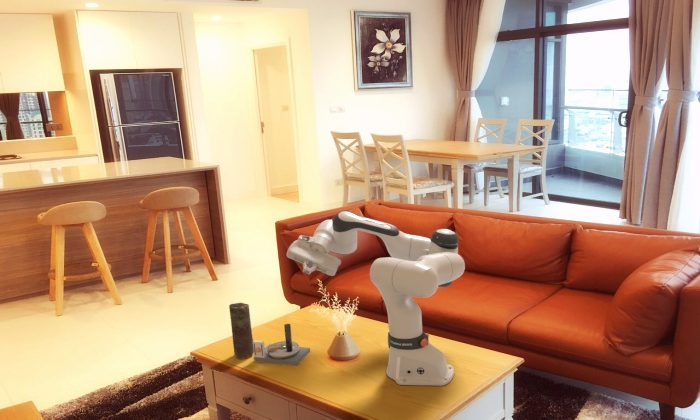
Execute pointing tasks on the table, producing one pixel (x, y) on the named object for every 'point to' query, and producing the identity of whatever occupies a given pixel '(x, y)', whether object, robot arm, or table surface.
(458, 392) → the table surface
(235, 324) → the candle
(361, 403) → the table surface
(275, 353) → the grey disc with rod
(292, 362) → the stand
